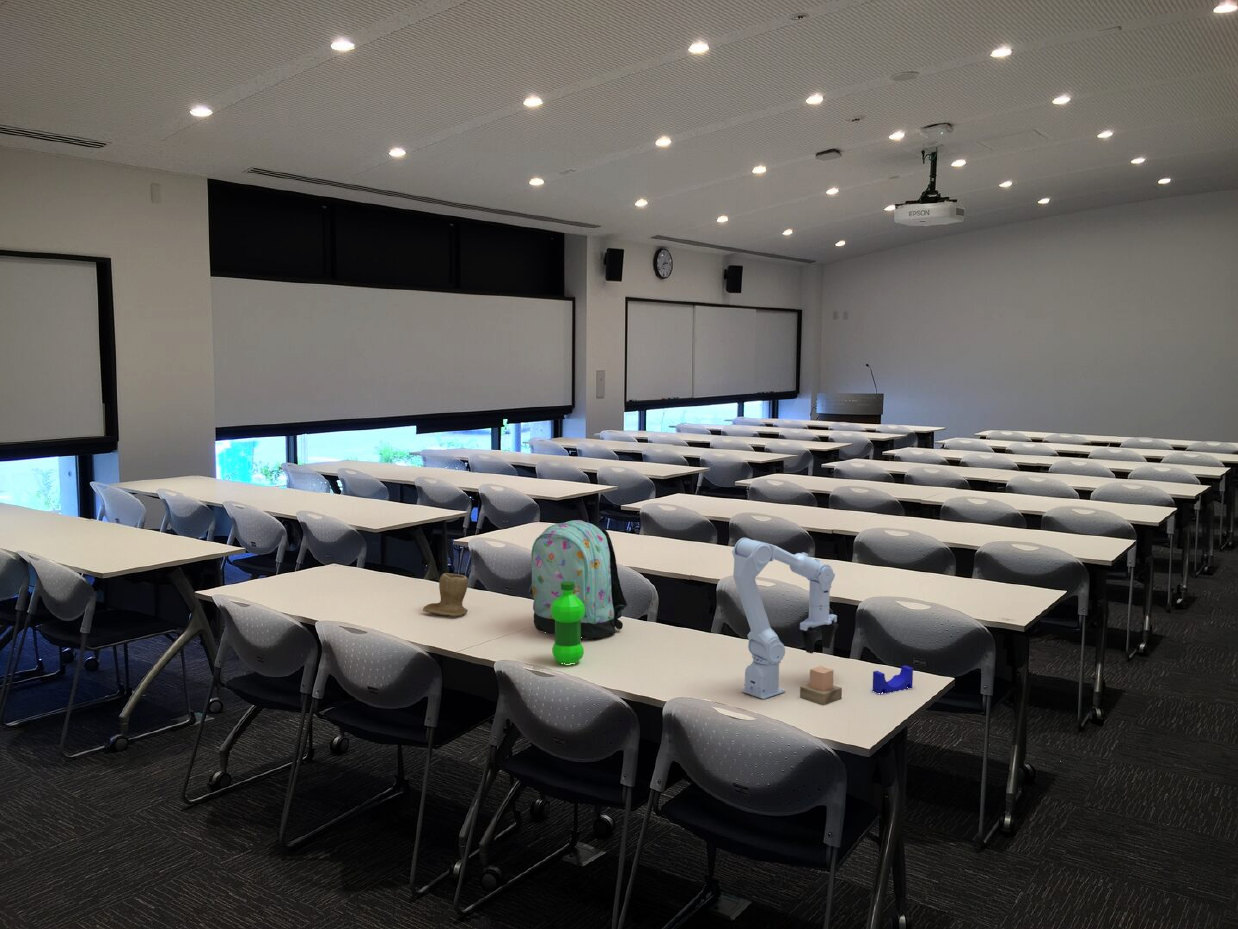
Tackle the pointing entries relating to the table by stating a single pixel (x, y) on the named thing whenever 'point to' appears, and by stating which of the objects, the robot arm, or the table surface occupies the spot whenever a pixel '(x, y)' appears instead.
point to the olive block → (820, 694)
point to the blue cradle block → (893, 681)
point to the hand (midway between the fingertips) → (817, 650)
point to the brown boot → (450, 595)
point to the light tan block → (821, 678)
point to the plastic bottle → (567, 625)
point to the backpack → (577, 576)
